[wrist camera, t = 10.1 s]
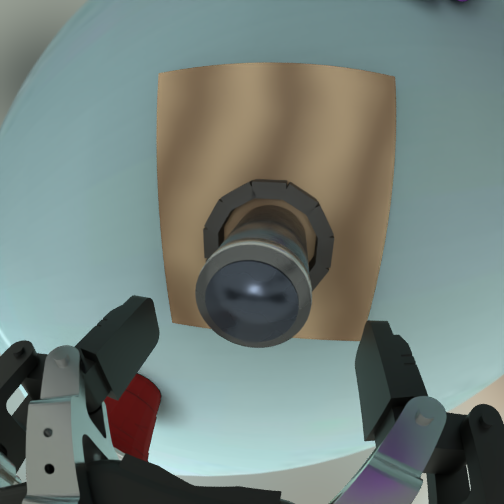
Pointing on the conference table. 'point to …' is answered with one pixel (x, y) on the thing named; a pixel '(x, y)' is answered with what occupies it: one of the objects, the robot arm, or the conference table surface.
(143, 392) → the plastic cup
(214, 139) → the mount
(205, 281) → the lens
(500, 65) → the conference table surface
